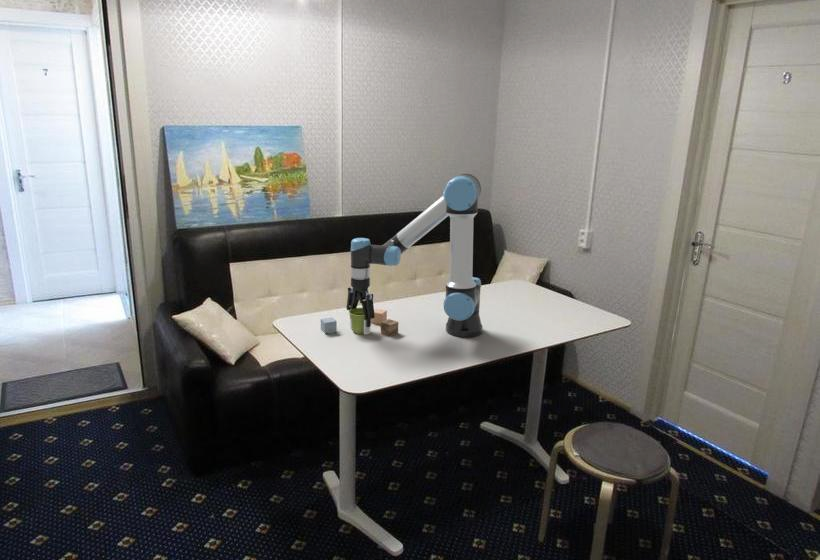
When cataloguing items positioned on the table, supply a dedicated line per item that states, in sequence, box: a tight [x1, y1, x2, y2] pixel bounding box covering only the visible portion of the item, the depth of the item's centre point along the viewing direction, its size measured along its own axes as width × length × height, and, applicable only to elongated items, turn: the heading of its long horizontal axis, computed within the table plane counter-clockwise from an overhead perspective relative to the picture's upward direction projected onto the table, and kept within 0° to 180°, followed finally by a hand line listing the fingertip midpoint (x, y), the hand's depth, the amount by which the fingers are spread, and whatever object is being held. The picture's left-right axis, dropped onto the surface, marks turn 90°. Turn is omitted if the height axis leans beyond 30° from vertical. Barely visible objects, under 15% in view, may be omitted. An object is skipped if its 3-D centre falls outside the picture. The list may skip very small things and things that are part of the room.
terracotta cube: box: [371, 308, 388, 326], centre depth 249 cm, size 5×5×5 cm
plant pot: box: [348, 307, 365, 335], centre depth 237 cm, size 9×9×9 cm
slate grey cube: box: [320, 317, 338, 335], centre depth 237 cm, size 5×5×5 cm
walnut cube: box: [380, 318, 399, 337], centre depth 236 cm, size 5×5×5 cm
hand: (360, 330), depth 238 cm, fingers closed on plant pot, 8 cm apart
